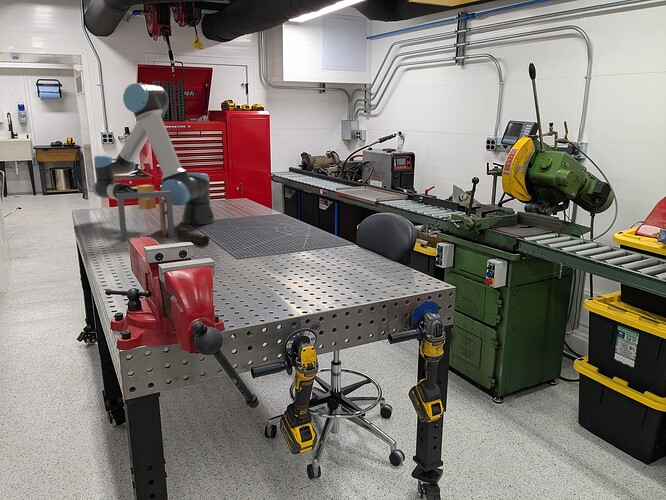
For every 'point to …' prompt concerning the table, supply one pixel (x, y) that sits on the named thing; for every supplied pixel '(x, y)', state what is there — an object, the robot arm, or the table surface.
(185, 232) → the hand tool
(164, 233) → the door
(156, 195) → the door frame
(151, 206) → the block
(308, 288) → the table surface
